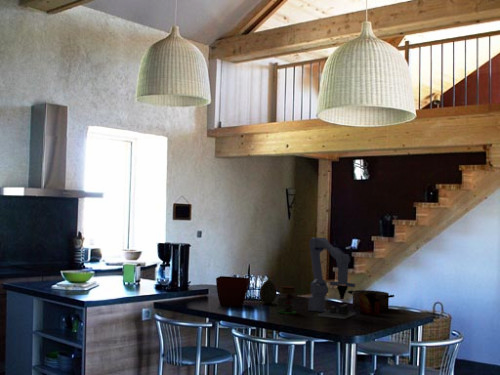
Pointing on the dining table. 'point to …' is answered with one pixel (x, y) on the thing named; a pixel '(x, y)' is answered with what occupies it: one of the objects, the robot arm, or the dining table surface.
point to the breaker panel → (337, 314)
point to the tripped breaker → (333, 310)
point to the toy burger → (286, 300)
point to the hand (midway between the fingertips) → (341, 298)
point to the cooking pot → (380, 295)
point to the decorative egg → (268, 292)
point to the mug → (368, 304)
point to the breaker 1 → (342, 309)
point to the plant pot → (232, 290)
